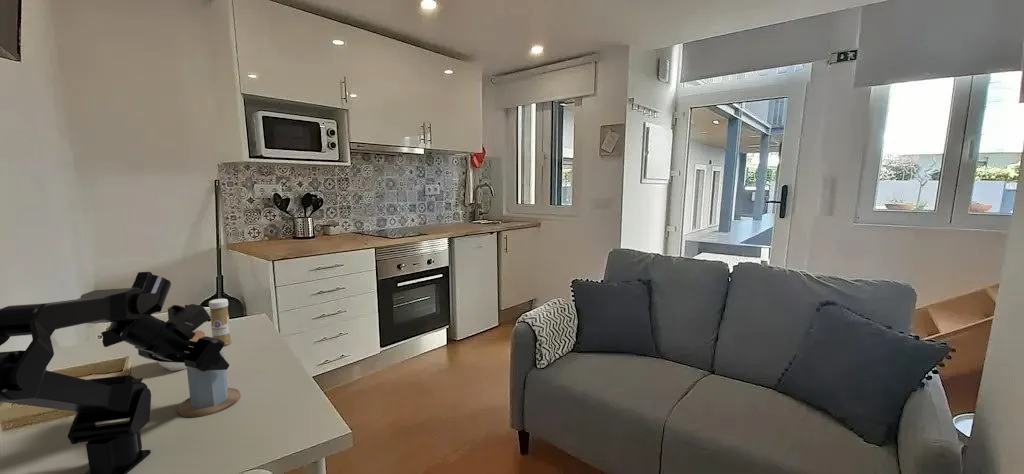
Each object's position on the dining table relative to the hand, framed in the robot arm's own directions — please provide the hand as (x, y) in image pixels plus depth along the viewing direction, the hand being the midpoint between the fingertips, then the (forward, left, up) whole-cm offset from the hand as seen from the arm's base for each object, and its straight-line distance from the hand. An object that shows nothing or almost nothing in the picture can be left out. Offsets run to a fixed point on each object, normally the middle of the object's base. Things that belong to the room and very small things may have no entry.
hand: (212, 364), depth 91 cm
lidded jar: (+19, +20, -9) cm, 28 cm away
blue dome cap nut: (-1, 0, -8) cm, 8 cm away
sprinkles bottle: (+33, +18, -9) cm, 38 cm away
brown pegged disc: (-1, +1, -8) cm, 8 cm away
